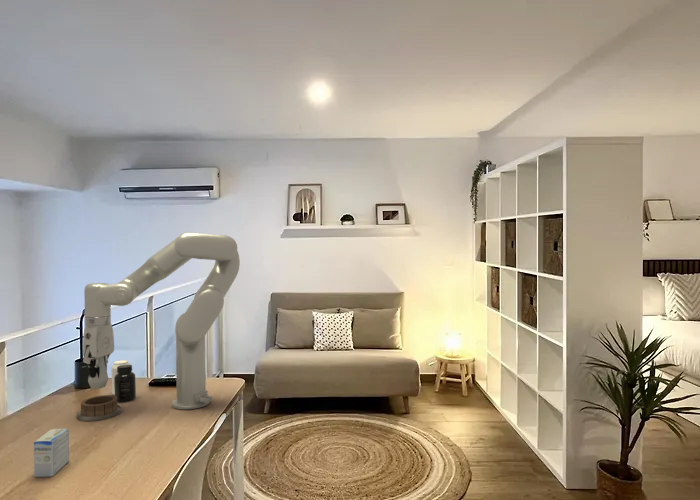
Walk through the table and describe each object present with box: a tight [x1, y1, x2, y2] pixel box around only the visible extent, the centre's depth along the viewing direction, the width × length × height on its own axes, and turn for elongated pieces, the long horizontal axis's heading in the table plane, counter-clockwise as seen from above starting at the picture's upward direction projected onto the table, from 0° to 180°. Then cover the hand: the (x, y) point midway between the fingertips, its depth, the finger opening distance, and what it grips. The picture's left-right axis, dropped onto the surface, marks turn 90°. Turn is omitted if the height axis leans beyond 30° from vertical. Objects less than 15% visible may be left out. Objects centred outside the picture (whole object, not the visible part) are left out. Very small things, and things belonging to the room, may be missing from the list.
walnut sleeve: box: [76, 394, 123, 423], centre depth 157 cm, size 13×13×4 cm
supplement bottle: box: [114, 364, 137, 403], centre depth 171 cm, size 7×7×12 cm
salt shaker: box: [87, 357, 109, 390], centre depth 156 cm, size 6×6×13 cm
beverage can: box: [111, 359, 131, 396], centre depth 177 cm, size 6×6×12 cm
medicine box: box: [33, 428, 70, 478], centre depth 119 cm, size 8×4×9 cm, turn 5°
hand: (98, 377), depth 156 cm, fingers closed on salt shaker, 3 cm apart
